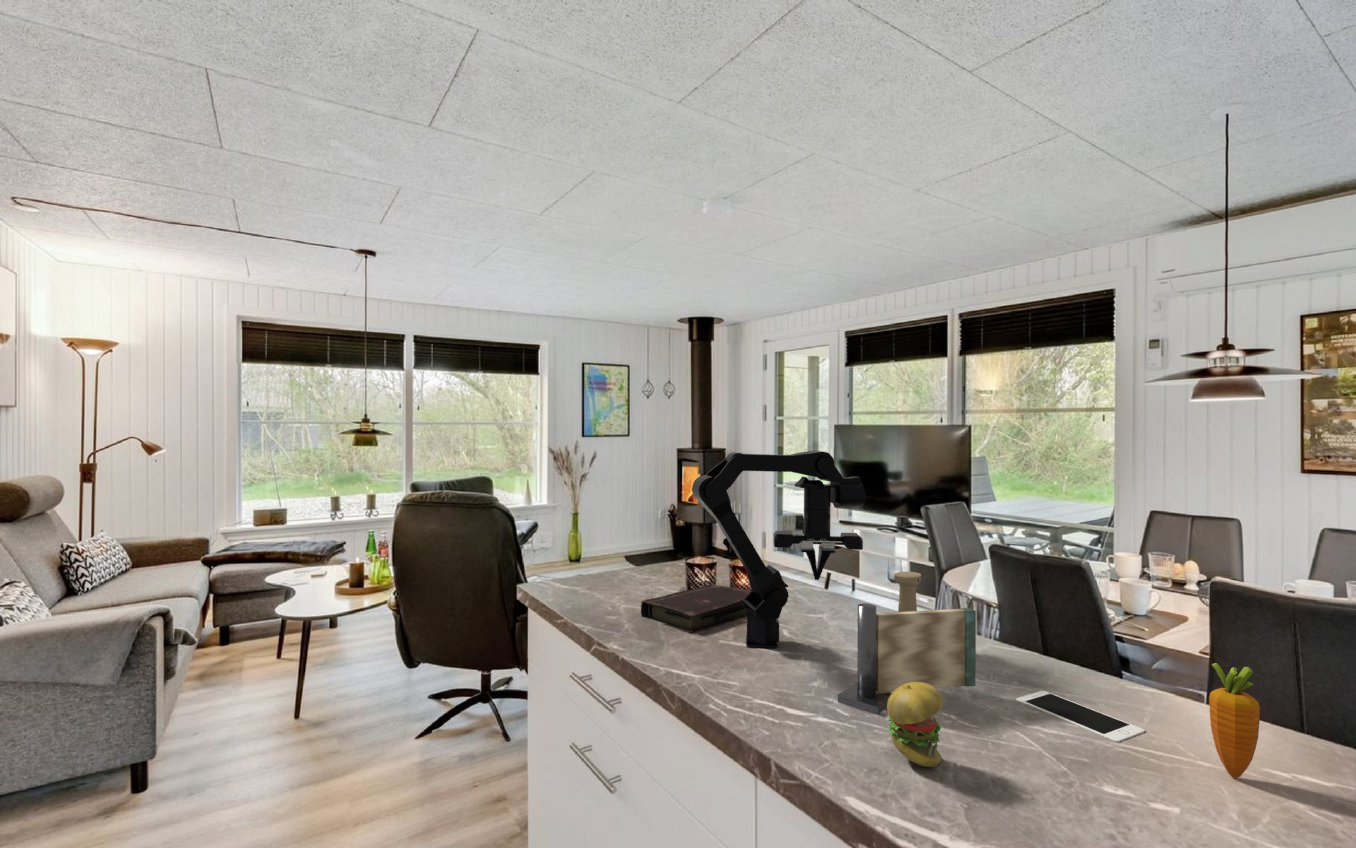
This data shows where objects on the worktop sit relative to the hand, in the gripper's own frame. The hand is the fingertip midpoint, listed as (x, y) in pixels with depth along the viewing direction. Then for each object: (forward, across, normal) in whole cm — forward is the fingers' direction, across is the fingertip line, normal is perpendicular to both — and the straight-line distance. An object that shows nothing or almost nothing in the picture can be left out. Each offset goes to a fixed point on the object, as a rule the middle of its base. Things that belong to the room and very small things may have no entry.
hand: (816, 579), depth 135 cm
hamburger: (+13, -8, +49) cm, 51 cm away
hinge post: (+13, -5, +30) cm, 34 cm away
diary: (+14, +26, -15) cm, 33 cm away
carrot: (+13, -49, +48) cm, 70 cm away
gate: (+12, -15, +27) cm, 33 cm away
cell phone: (+14, -38, +31) cm, 51 cm away
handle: (+13, -19, +1) cm, 23 cm away
